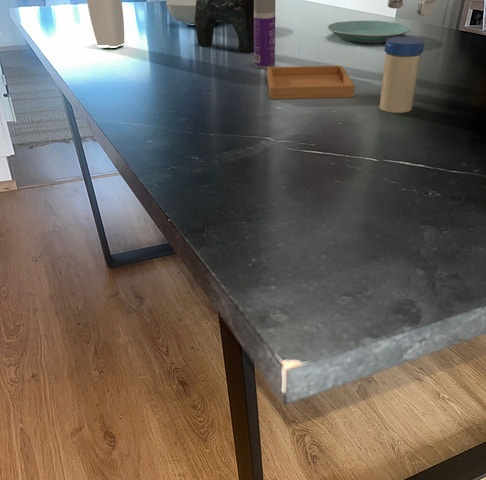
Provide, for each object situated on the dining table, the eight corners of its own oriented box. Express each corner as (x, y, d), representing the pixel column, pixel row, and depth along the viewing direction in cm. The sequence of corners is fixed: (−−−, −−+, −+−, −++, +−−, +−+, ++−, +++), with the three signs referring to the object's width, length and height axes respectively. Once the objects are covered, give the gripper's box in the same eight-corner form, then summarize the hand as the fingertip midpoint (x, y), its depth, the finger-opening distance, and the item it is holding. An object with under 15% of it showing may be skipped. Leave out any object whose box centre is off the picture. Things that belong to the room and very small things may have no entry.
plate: (369, 27, 155) (370, 16, 154) (427, 39, 140) (429, 27, 138) (309, 36, 146) (310, 25, 144) (365, 50, 130) (366, 38, 129)
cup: (92, 49, 139) (81, -15, 130) (106, 44, 144) (96, -19, 135) (117, 50, 137) (107, -15, 128) (130, 45, 142) (121, -19, 134)
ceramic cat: (265, 50, 133) (265, -43, 121) (249, 55, 129) (247, -41, 117) (207, 42, 143) (202, -45, 132) (190, 46, 139) (184, -43, 128)
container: (273, 68, 117) (274, -8, 109) (252, 68, 118) (252, -8, 109) (275, 63, 121) (276, -11, 112) (255, 63, 122) (255, -11, 113)
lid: (417, 47, 90) (418, 36, 89) (427, 55, 85) (429, 43, 84) (381, 48, 90) (382, 37, 89) (389, 56, 85) (390, 44, 84)
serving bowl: (163, 21, 173) (160, -3, 169) (224, 16, 177) (223, -7, 173) (175, 32, 156) (173, 6, 152) (242, 26, 161) (242, 1, 157)
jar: (407, 102, 95) (417, 39, 89) (415, 112, 90) (426, 46, 84) (376, 103, 95) (384, 40, 89) (382, 113, 90) (391, 47, 84)
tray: (340, 75, 111) (341, 65, 110) (353, 97, 98) (354, 85, 97) (267, 77, 111) (267, 67, 110) (270, 99, 99) (270, 87, 97)
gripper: (494, -98, 69) (468, 20, 77) (403, -96, 84) (390, 2, 92) (454, -97, 67) (432, 23, 75) (369, -95, 82) (359, 4, 91)
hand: (408, 11), depth 84 cm, fingers open, 7 cm apart
